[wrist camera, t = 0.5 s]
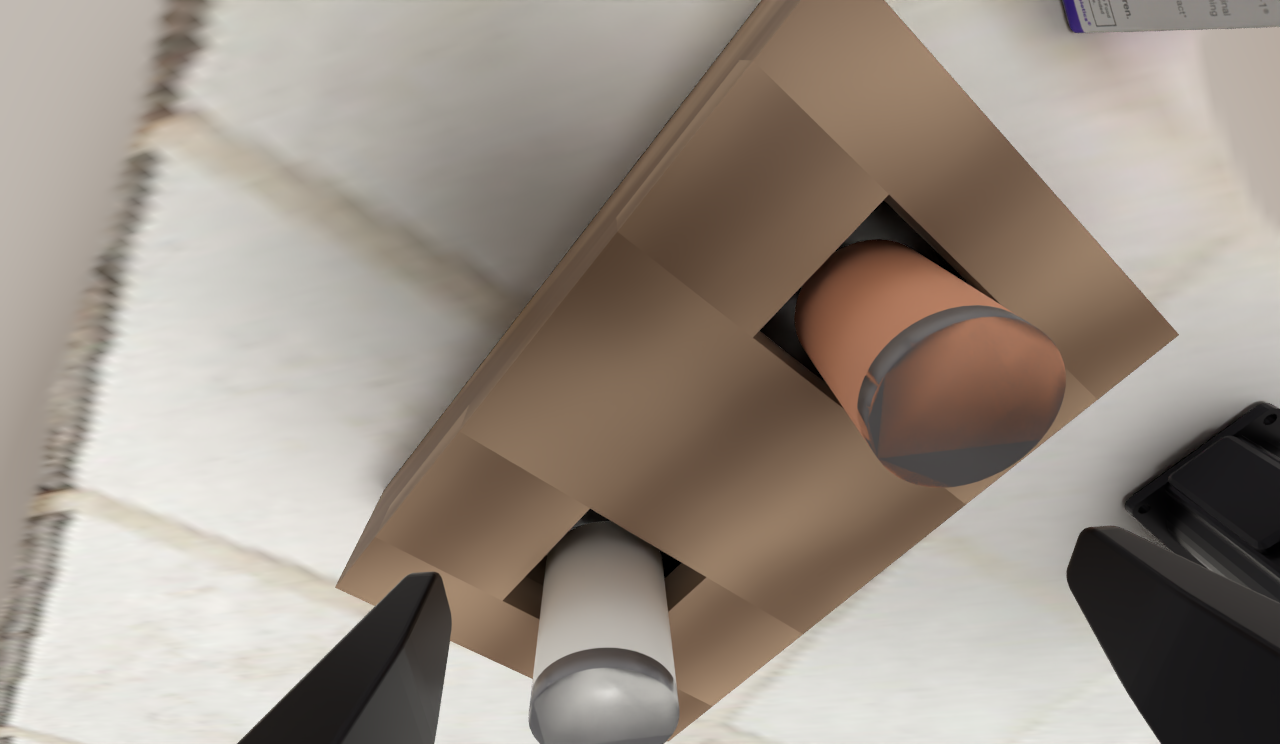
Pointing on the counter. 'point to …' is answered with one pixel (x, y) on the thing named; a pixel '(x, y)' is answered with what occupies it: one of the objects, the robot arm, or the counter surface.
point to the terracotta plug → (928, 364)
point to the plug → (603, 643)
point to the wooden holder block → (739, 354)
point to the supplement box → (1169, 15)
